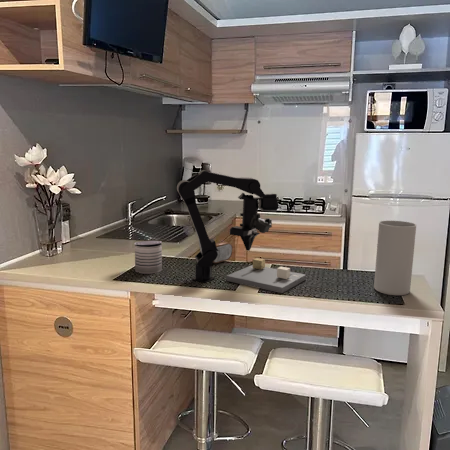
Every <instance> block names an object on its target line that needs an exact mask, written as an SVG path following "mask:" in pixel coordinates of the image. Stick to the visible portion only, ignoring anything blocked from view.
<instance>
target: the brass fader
mask: <svg viewBox="0 0 450 450" xmlns="http://www.w3.org/2000/svg"><path fill="white" fill-rule="evenodd" d="M252 265H253V268H256V269H263V268H265V267H266V259H264V258H259V257H256V258H252Z"/></svg>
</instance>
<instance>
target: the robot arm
mask: <svg viewBox="0 0 450 450" xmlns="http://www.w3.org/2000/svg"><path fill="white" fill-rule="evenodd" d="M205 183H212V184H217V185H220V186H221V185H222V186H226V187H232V188H236V189H238V190H240V191H243V192H241V193H240V195H238V196H237V198H238V199H239V200H241V201H242V212H241V213H239V215H240V217H241V218H242V221H241V223H239V225H238V226H237V225H236V226H231V227H230V228H229V235H231V236H236V237H240V239H241V240H242V243H243V245H244V247H245V250H246V251H247V252H248V251H251V248H252V245H253V243H254V241H255V238H256V237H257V236H258V235H260V233H261V234H265V233H269V230H270V229H271V228H273V225H272V224H273V223H272V219H271V218H269V217H268V218H265V219H264V218H261V214H260V213H258V210H259V209H260V211H261V212H277V211H278V209H279V200H278V198H277V197H278V194H277V193H264V191H263V190H262V189H261V183H260V182H259V180H258V179H256V178H253V177H234V176H230V175H225V174H220V173H217V172H211V171H208V170H206V169H205V170H204V169H203V170H201V171H199V172H198V173H196V174H195V175H193V176H191V177H189V178H188V179H183V180H180V181H179V182H178V183H177V186H176V190H177V192H178V194H179V196H180V198H181V199H182V201H183V203H184V204H185V206H186V208H187V212H188V214H189V216H190V219H191V222H192V225H193V228H194V230H195V233H196V235H197V238H198V245H199V252H197V254H196V255H195V256H194V258H195V261H196V264H195V265H194V266H195V271H194V273H195V274H194V275H195V276H194V277H193V278H191V279H192V281H197V282H201V283H207V282H210V281H212V280H215V278H216V277H214V276H213V275H212V273H213V264H214V263H213V261H214V260H215V259H216V258H217V256H218V253H217V251H219V250H218V249H217V248H216V244H217V243H216V241H215V239H214V238H213V237H211V238H210V237H209V235H208V232H207V229H206V227H205V224H204V222H203V221H204V220H203V218H202V216H201V213H200V210H199V208H198V204H197V199H196V193H195V192H196V190H197V189H198V188H200V187H201V186H202V185H204V184H205ZM245 193H248V194H245ZM255 196H257V197H255ZM258 231H259V232H258Z"/></svg>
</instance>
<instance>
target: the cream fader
mask: <svg viewBox="0 0 450 450" xmlns="http://www.w3.org/2000/svg"><path fill="white" fill-rule="evenodd" d="M276 269H277V277H279V278H284V279H287V278H289V277H290V272H291V268H290V267H286V266H285V267H284V266H278V267H277V268H276Z"/></svg>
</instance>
